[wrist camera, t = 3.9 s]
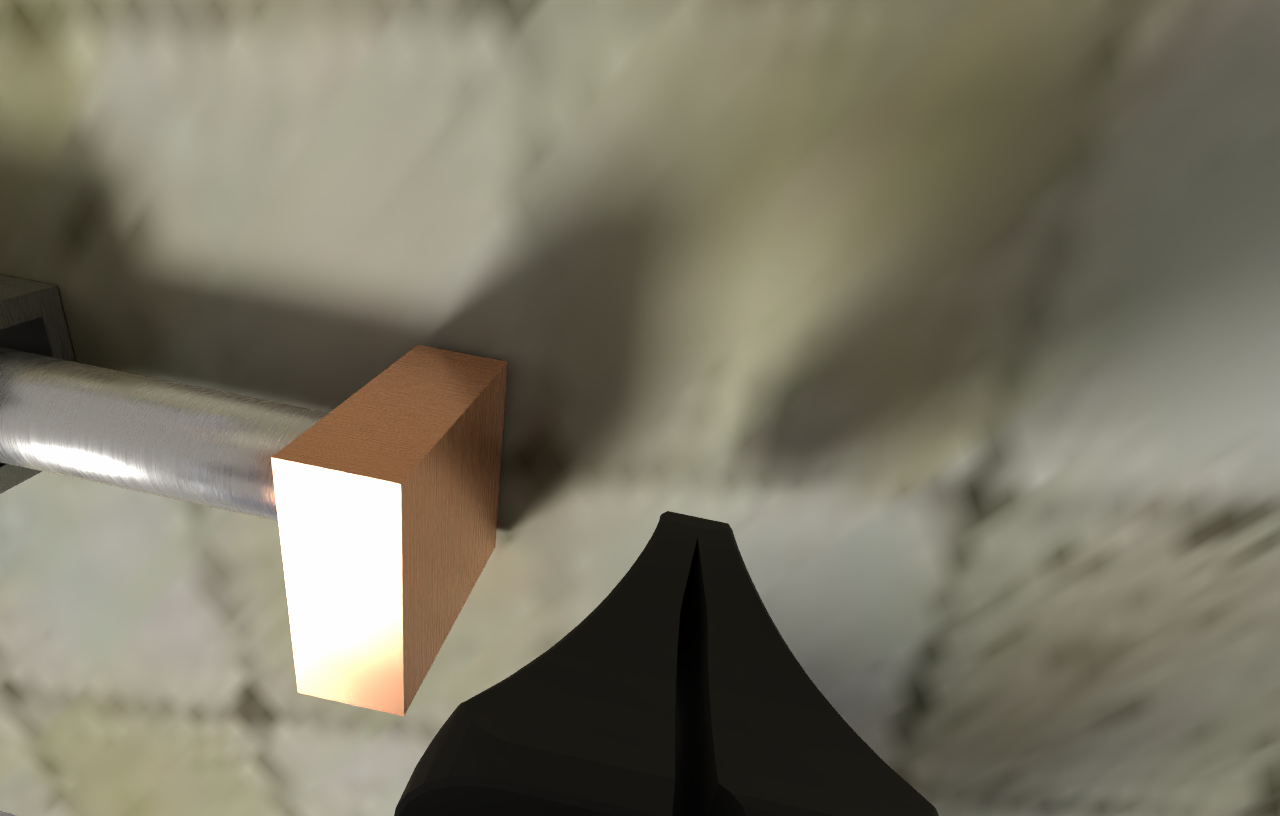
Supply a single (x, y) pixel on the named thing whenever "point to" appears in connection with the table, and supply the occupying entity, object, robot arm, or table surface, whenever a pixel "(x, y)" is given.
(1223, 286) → the table surface
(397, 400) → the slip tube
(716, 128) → the table surface
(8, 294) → the grey channel block
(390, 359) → the table surface
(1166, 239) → the table surface
